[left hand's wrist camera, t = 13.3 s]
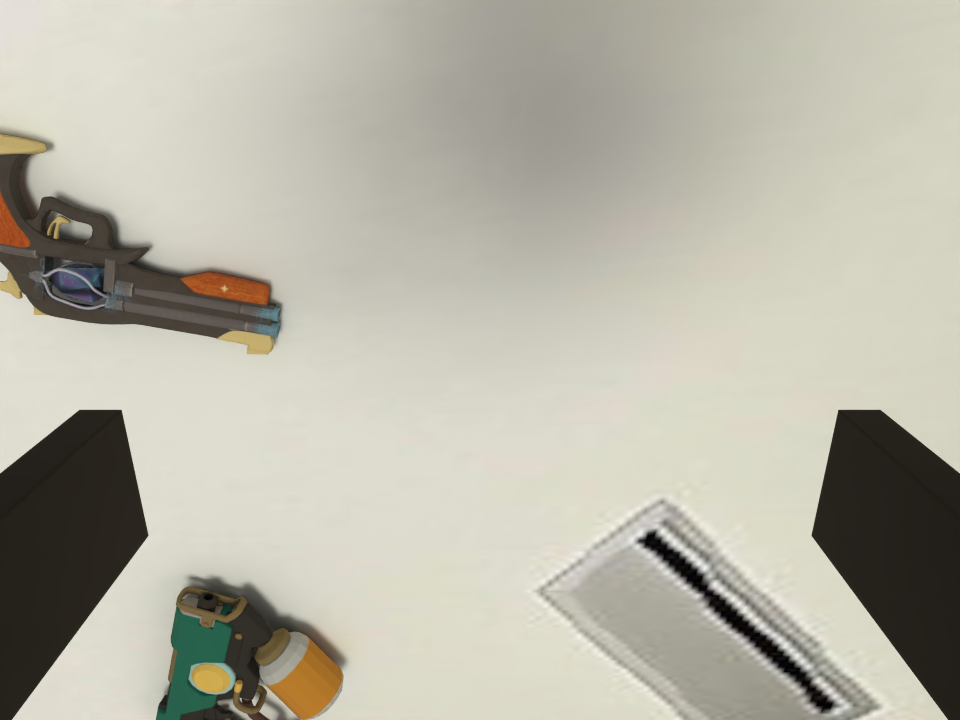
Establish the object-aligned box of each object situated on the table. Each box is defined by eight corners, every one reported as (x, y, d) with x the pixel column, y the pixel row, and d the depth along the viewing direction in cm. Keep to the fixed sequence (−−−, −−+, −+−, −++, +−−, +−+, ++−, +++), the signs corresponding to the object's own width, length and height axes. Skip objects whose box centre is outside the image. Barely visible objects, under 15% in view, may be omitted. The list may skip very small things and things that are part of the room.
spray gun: (283, 768, 58) (119, 688, 55) (382, 651, 52) (204, 555, 49) (265, 819, 54) (88, 736, 51) (370, 699, 48) (176, 598, 45)
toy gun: (-76, 120, 36) (-76, 304, 38) (292, 195, 39) (270, 362, 41) (-43, 123, 38) (-45, 296, 41) (300, 193, 41) (278, 351, 44)
